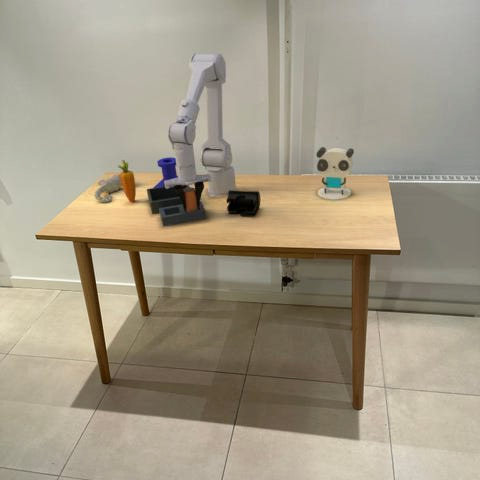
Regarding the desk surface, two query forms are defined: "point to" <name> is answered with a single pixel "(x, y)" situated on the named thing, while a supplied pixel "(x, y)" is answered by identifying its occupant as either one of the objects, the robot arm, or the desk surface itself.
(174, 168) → the mount
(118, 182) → the seahorse
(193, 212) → the rack
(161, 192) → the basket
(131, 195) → the carrot
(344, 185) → the panda figurine
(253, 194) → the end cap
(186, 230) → the desk surface
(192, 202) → the tube
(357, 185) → the desk surface
